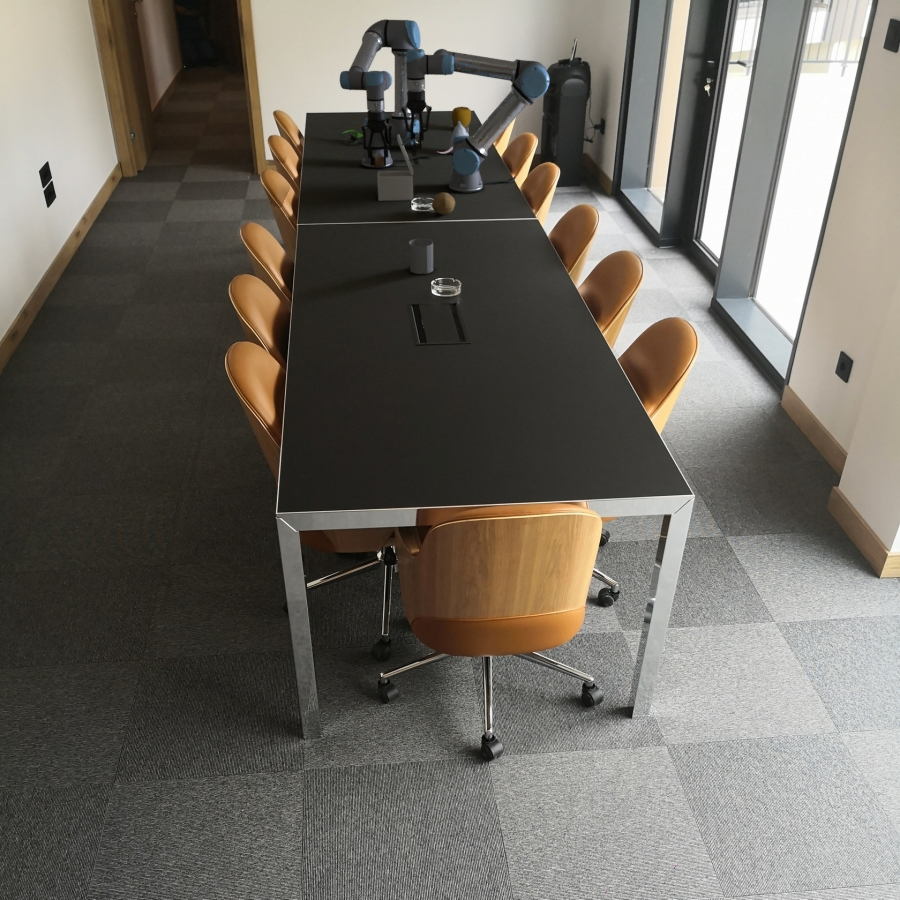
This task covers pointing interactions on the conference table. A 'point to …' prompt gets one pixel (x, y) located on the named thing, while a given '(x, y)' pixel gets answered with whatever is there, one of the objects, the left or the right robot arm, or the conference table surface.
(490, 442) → the conference table surface
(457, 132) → the toy
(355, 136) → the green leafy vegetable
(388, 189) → the chest
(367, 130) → the left robot arm
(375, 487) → the conference table surface
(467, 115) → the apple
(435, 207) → the potato
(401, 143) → the lid
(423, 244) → the cup
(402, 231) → the conference table surface
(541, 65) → the right robot arm
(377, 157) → the block
